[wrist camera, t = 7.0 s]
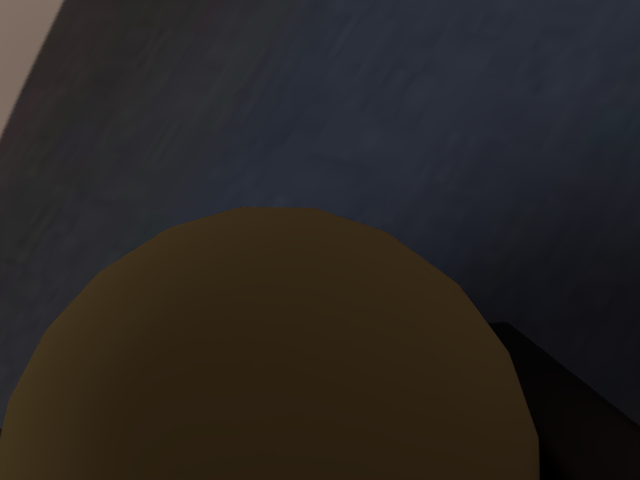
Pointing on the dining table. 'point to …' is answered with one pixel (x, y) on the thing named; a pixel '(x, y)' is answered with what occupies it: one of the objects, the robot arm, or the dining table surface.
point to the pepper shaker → (270, 364)
